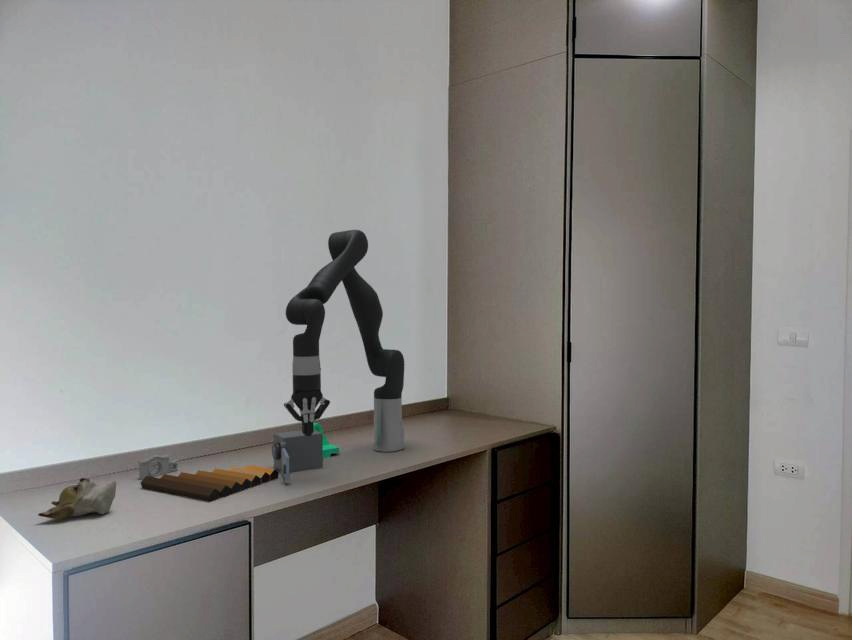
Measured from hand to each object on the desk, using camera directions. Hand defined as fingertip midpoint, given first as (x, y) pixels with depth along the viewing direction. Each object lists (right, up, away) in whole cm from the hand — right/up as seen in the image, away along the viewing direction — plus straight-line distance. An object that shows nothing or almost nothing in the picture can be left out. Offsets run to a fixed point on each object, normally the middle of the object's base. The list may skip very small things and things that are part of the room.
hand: (307, 435), depth 173 cm
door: (-7, -12, +1) cm, 13 cm away
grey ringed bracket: (-43, -13, +6) cm, 45 cm away
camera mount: (-2, -12, +29) cm, 31 cm away
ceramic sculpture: (-46, -13, -29) cm, 56 cm away
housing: (-6, -12, +13) cm, 19 cm away
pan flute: (-25, -13, -3) cm, 29 cm away
